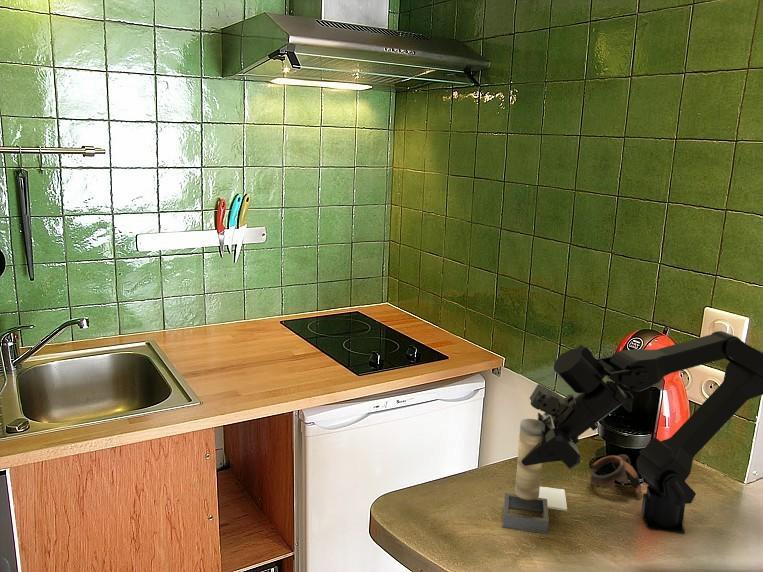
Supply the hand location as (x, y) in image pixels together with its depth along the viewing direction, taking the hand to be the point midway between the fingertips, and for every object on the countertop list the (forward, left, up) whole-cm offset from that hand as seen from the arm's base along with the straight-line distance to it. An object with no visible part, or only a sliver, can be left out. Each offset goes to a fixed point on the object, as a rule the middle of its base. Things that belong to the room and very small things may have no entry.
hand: (522, 457), depth 116 cm
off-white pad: (-5, -9, -12) cm, 16 cm away
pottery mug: (-20, -17, -13) cm, 29 cm away
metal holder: (-1, 0, -12) cm, 12 cm away
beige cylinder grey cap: (-1, 0, -7) cm, 7 cm away
